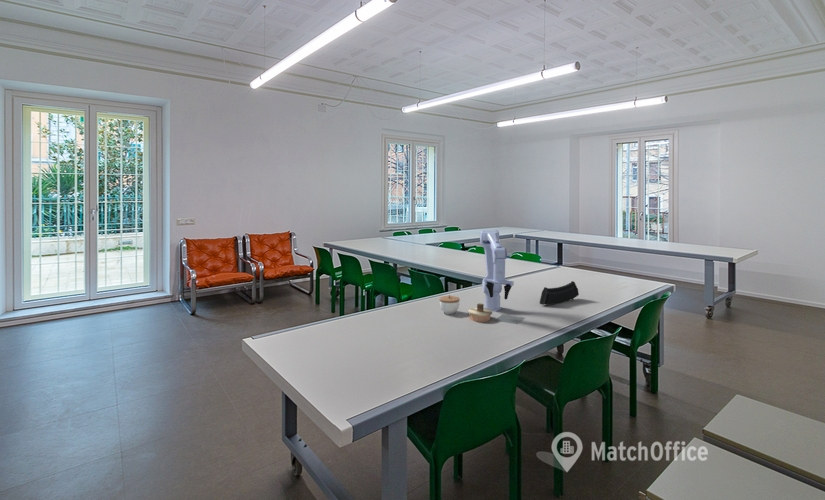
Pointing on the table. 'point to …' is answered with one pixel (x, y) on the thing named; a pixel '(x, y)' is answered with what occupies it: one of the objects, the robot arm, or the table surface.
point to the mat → (509, 319)
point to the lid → (480, 311)
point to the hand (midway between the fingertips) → (498, 298)
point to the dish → (479, 318)
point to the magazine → (559, 294)
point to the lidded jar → (449, 304)
